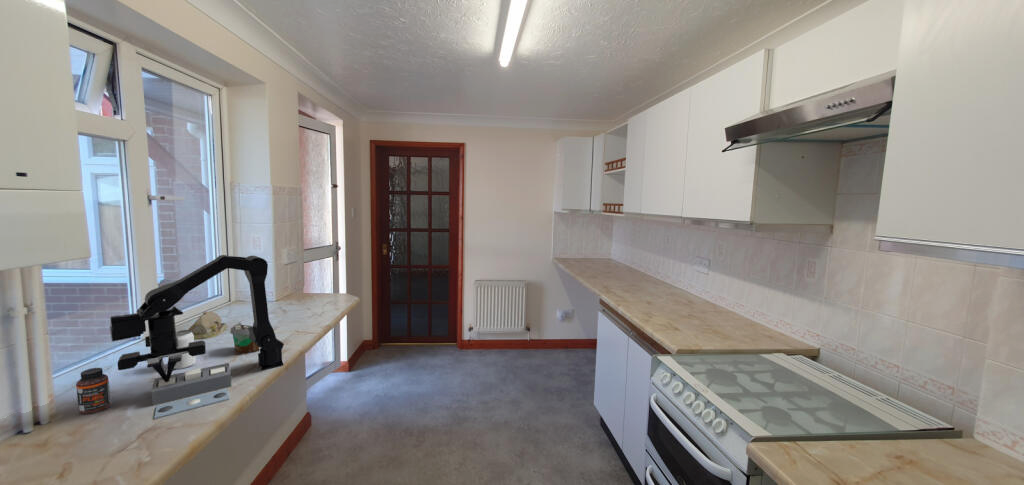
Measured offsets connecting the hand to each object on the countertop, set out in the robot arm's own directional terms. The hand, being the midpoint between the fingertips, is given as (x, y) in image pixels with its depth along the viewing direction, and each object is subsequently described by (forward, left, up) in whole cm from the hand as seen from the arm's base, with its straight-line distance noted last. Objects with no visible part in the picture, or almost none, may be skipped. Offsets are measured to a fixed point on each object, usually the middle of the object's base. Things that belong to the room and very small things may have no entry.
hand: (167, 381), depth 110 cm
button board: (-6, 0, -4) cm, 7 cm away
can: (-3, -22, -4) cm, 23 cm away
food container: (-20, -24, -4) cm, 32 cm away
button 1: (0, 0, -2) cm, 2 cm away
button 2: (-12, 0, -2) cm, 12 cm away
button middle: (-6, 0, -1) cm, 6 cm away
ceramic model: (-10, -54, -5) cm, 55 cm away
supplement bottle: (+15, -2, -4) cm, 16 cm away
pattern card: (-6, +11, -4) cm, 13 cm away
